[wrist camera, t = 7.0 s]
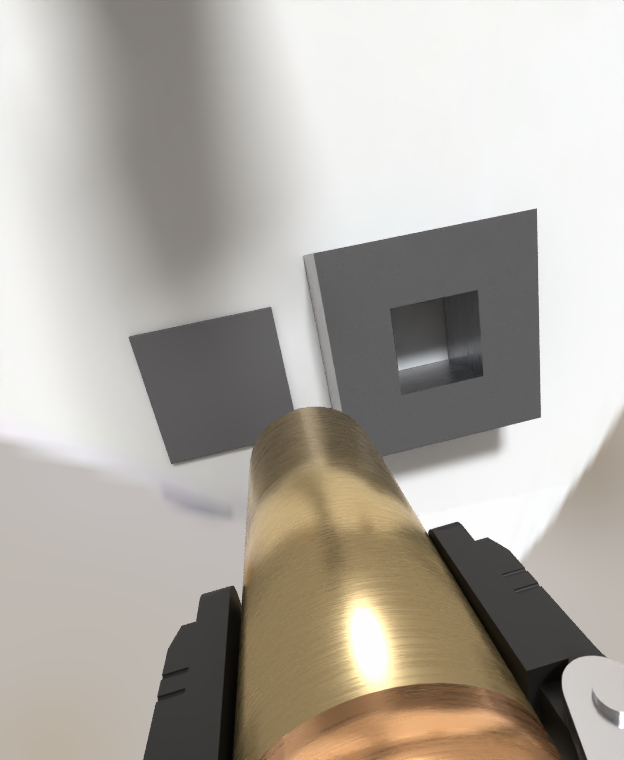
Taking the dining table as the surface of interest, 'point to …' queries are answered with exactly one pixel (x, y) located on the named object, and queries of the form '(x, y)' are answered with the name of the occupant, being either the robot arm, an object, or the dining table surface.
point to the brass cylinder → (359, 618)
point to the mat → (214, 382)
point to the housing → (463, 327)
